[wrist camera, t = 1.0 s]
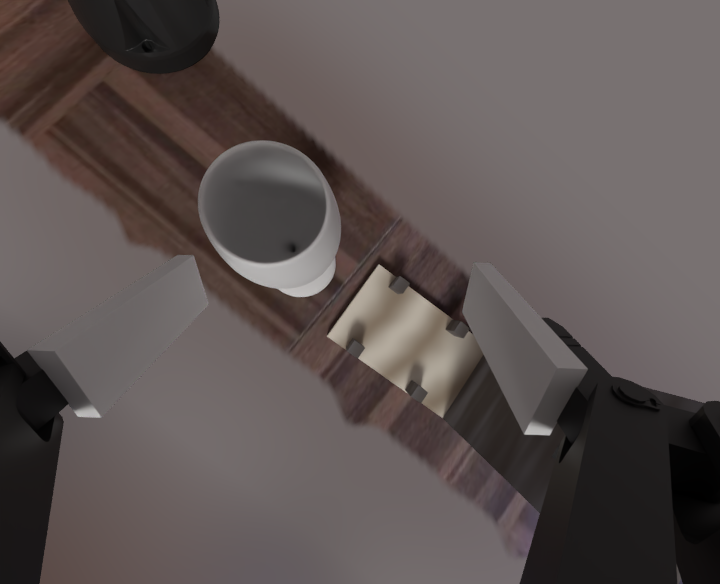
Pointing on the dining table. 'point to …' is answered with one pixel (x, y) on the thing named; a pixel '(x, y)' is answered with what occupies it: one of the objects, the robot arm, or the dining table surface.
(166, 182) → the dining table surface
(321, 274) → the wineglass
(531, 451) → the pegged display stand
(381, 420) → the dining table surface
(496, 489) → the dining table surface
